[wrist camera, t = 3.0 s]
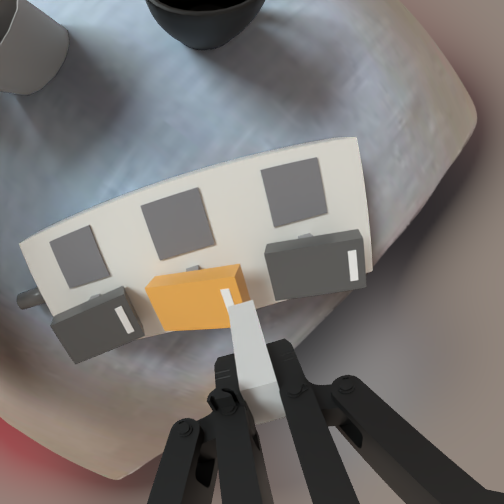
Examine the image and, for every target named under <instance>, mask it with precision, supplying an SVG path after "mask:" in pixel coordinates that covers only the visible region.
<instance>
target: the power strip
mask: <svg viewBox="0 0 504 504" xmlns="http://www.w3.org/2000/svg"><path fill="white" fill-rule="evenodd" d="M354 229H359V231H360V233H361V235H362V237H363V242H364V254H365V268H366V273H368V272H371V271H373V267H372V250H371V237H370V226H369V216H368V207H367V199H366V191H365V184H364V177H363V171H362V164H361V159H360V153H359V147H358V142H357V137H342V138H330V139H324V140H319V141H313V142H308V143H303V144H298V145H293V146H288V147H283V148H279V149H274V150H270V151H266V152H261V153H257V154H253V155H249V156H245V157H241V158H237V159H233V160H230V161H226V162H222V163H219V164H215V165H211V166H208V167H205V168H201V169H198V170H194V171H191V172H188V173H185V174H181V175H178V176H175V177H172V178H169V179H166V180H163V181H160V182H157V183H154V184H151V185H148V186H145V187H143V188H140V189H137V190H134V191H132V192H129V193H126V194H124V195H121V196H118V197H116V198H113V199H111V200H108V201H105V202H103V203H100V204H98V205H96V206H93V207H91V208H88V209H86V210H84V211H81V212H79V213H77V214H74V215H72V216H70V217H68V218H65V219H63V220H61V221H59V222H57V223H54V224H52V225H50V226H48V227H46V228H44V229H42V230H40V231H38V232H37V233H35V234H34V235H32V236H30V237H29V238H27V239H25V240H24V241H22V242H21V243H19V245H20V248H21V250H22V253H23V255H24V258H25V260H26V262H27V265H28V267H29V269H30V272H31V274H32V276H33V278H34V280H35V282H36V284H37V286H38V287H36V288H34V289H31V290H28V291H26V292H23V293H20V294H18V296H17V304H18V306H19V308H20V309H22V310H24V309H27V308H30V307H33V306H37V305H40V304H43V303H46V304H47V306H48V308H49V309H50V311H51V313H52V315H53V317H54V316H55V315H57V314H59V313H61V312H64V311H66V310H68V309H70V308H73V307H75V306H77V305H80V304H82V303H84V302H86V301H89V300H91V299H93V298H96V297H98V296H100V295H102V294H105V293H107V292H109V291H112V290H114V289H116V288H119V287H121V286H124V288H125V290H126V292H127V295H128V297H129V299H130V301H131V303H132V305H133V307H134V309H135V311H136V313H137V315H138V317H139V319H140V321H141V323H142V325H143V328H144V333H145V336H143V337H141V338H139V339H142V338H147V337H151V336H155V335H160V334H164V333H168V332H172V331H165V330H164V328H163V326H162V324H161V322H160V320H159V318H158V316H157V314H156V312H155V310H154V308H153V306H152V304H151V302H150V299H149V297H148V295H147V293H146V291H145V287H146V286H147V285H148V284H149V282H150V281H151V280H152V279H153V278H154V277H155V276H160V275H167V274H174V273H181V272H187V271H194V270H201V269H208V268H214V267H221V266H227V265H234V264H240V265H241V269H242V272H243V275H244V279H245V282H246V286H247V289H248V292H249V296H250V299H251V300H253V302H254V306H255V309H258V308H261V307H265V306H268V305H271V304H275V303H278V302H281V301H285V300H279V301H275V297H274V293H273V289H272V284H271V280H270V276H269V272H268V268H267V264H266V260H265V256H264V252H265V248H266V245H267V244H269V243H275V242H281V241H287V240H293V239H299V238H305V237H311V236H318V235H324V234H330V233H336V232H342V231H348V230H354ZM287 300H288V299H287ZM136 340H138V339H136Z"/></svg>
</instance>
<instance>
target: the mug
mask: <svg viewBox="0 0 504 504" xmlns="http://www.w3.org/2000/svg"><path fill="white" fill-rule="evenodd" d="M264 1H265V0H146V3H147V5H148V7H149V9H150V12H151V13H152V15H153V17H154V18H155V20H156V21H157V22H158V24H159V25H160V26H161V27H162V28H163V29H164V30H165V31H166V32H167V33H168V34H170V35H171V36H172V37H173V38H175V39H176V40H178V41H180V42H182V43H183V44H184V45H186V46H188V47H190V48H193V49H199V50H209V49H214V48H217V47H220V46H222V45H224V44H225V43H227V42H228V41H229V40H230V39H232V38H234V37H235V36H237V35H238V34H239V33H240V32H241V31H242V30H243V29H244V28H246V27H247V26H248V25H249V24H250V22H251V21H252V20H253V19H254V18H255V16H256V15H257V13H258V12H259V10H260V9H261V7H262V6H263V3H264Z"/></svg>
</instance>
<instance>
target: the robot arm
mask: <svg viewBox="0 0 504 504" xmlns="http://www.w3.org/2000/svg"><path fill="white" fill-rule="evenodd" d="M228 311H229V319H230V326H231V334H232V341H233V348H234V354H230V355H226V356H222V357H218V359H217V361H216V363H215V365H214V366H215V383H216V389H214V390H213V391H212V392H211V393H210V394H209V396H208V398H207V402H208V404H209V405H210V407H211V409H212V410H213V412H212V413H211V414H209V415H208V416H206V417H204V418H202V419H200V420H198V421H195V420H194V419H190V418H185V419H181V420H179V421H177V422H176V423H175V424H174V425H173V427H172V428H171V431H170V434H169V437H168V440H167V443H166V446H165V449H164V452H163V456H162V458H161V461H160V465H159V468H158V471H157V474H156V477H155V480H154V483H153V486H152V490H151V493H150V496H149V499H148V503H147V504H211V502H212V497H213V492H214V486H215V481H216V476H217V471H218V470H219V479H220V489H221V497H222V504H274V502H273V498H272V494H271V489H270V485H269V480H268V476H267V472H266V467H265V463H264V458H263V453H262V449H261V444H260V439H259V435H258V432H257V430H256V427H255V424H256V425H257V424H261V423H265V422H268V421H272V420H276V419H280V418H283V417H287V420H288V424H289V427H290V430H291V434H292V437H293V441H294V444H295V447H296V451H297V454H298V457H299V460H300V464H301V467H302V470H303V473H304V477H305V480H306V483H307V486H308V489H309V492H310V496H311V499H312V502H313V504H360V503H359V501H358V499H357V496H356V494H355V491H354V489H353V486H352V484H351V482H350V479H349V477H348V474H347V472H346V470H345V467H344V465H343V462H342V460H341V457H340V455H339V453H338V451H337V448H336V445H335V443H334V441H333V438H332V436H331V434H330V431H329V429H328V426H336V428H337V429H338V430H339V431H340V432H341V434H342V435H343V436H344V437H345V438H346V439H347V440H348V442H349V443H350V444H351V445H352V446H353V447H354V448H355V449H356V451H357V452H358V453H359V454H360V455H361V456H362V457H363V458H364V460H365V461H366V462H367V463H368V464H369V465H370V466H371V467H372V468H373V469H374V471H375V472H376V473H378V475H379V476H380V477H381V478H382V479H383V480H384V481H385V482H386V483H387V484H388V485H389V487H390V488H391V489H392V490H393V491H394V492H395V493H396V494H397V495H398V496H399V497H400V498H401V499H402V500H403V501H404V502H405V503H406V504H504V493H501V492H496V491H491V490H487V489H485V488H484V487H483V486H481V485H480V484H479V483H478V482H476V481H475V480H474V479H473V478H472V477H471V476H469V475H468V474H467V473H466V472H465V471H463V470H462V469H461V468H460V467H459V466H457V465H456V464H455V463H454V462H453V461H451V460H450V459H449V458H448V457H447V456H446V455H444V454H443V453H442V452H441V451H440V450H439V449H438V448H436V447H435V446H434V445H433V444H432V443H431V442H430V441H428V440H427V439H426V438H425V437H424V436H423V435H421V434H420V433H419V432H418V431H417V430H416V429H415V428H414V427H412V426H411V425H410V424H409V423H408V422H407V421H406V420H404V419H403V418H402V417H401V416H400V415H399V414H398V413H397V412H395V411H394V410H393V409H392V408H391V407H390V406H389V405H388V404H387V403H385V402H384V401H383V400H382V399H381V398H380V397H379V396H378V395H376V394H375V393H374V392H373V391H372V390H371V389H370V388H369V387H368V386H367V385H366V384H364V383H363V382H362V381H361V380H360V379H359V378H357V377H355V376H351V375H345V376H341V377H339V378H337V379H336V380H335V381H333V383H332V384H331V385H315V384H312V383H310V382H309V381H308V380H307V379H306V378H305V375H304V373H303V371H302V368H301V366H300V363H299V361H298V359H297V356H296V354H295V352H294V349H293V347H292V344H291V343H290V342H289V341H287V340H286V339H282V340H278V341H275V342H272V343H268V344H266V343H265V340H264V336H263V333H262V330H261V326H260V323H259V319H258V316H257V313H256V309H255V306H254V302H253V300H250V301H247V302H243V303H240V304H236V305H232V306H229V307H228Z"/></svg>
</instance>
